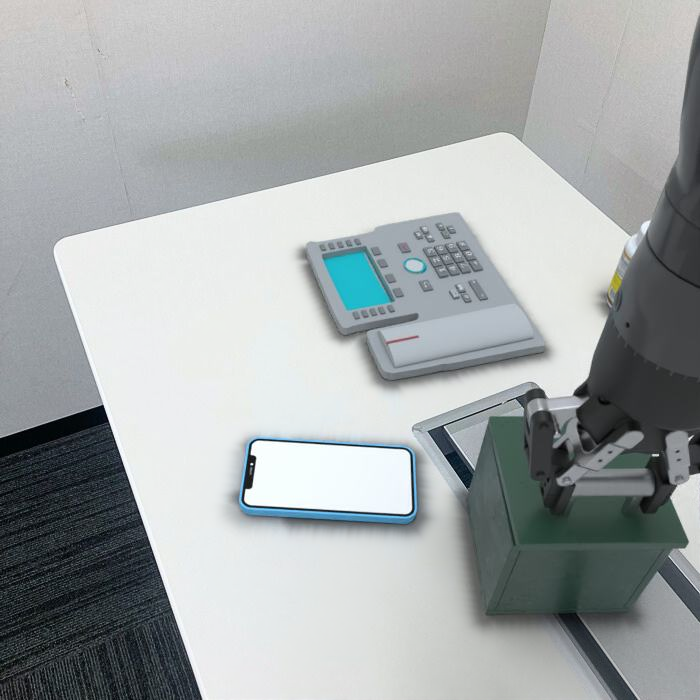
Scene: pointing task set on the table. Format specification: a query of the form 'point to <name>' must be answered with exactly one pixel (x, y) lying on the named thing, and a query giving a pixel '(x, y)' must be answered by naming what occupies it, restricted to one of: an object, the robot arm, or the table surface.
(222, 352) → the table surface
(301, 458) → the smartphone
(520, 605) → the waste bin
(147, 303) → the table surface
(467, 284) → the office telephone
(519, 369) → the table surface
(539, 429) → the robot arm
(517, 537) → the bin lid
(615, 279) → the supplement bottle
